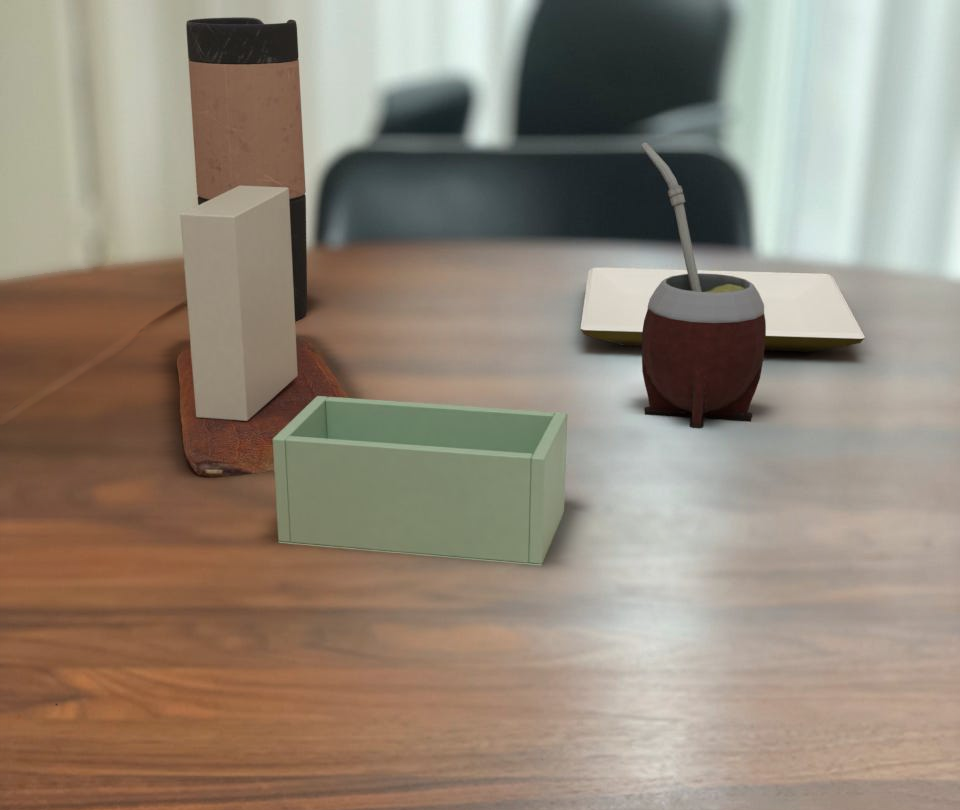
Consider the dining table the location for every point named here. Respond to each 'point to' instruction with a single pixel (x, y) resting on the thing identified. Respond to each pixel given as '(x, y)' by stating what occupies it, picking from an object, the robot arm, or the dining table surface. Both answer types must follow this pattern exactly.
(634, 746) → the dining table surface
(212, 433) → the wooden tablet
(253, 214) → the rectangular block
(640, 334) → the plate
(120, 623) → the dining table surface
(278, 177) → the travel mug
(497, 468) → the bin
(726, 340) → the mate gourd
